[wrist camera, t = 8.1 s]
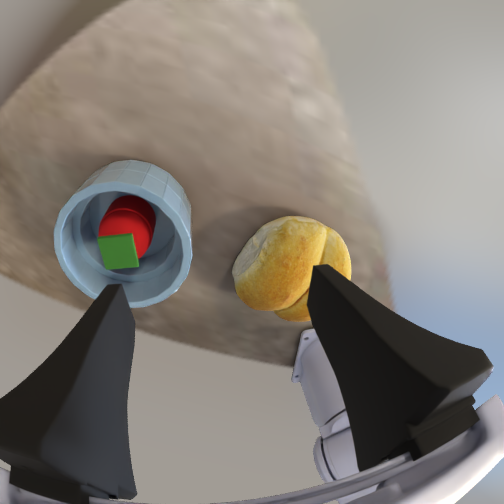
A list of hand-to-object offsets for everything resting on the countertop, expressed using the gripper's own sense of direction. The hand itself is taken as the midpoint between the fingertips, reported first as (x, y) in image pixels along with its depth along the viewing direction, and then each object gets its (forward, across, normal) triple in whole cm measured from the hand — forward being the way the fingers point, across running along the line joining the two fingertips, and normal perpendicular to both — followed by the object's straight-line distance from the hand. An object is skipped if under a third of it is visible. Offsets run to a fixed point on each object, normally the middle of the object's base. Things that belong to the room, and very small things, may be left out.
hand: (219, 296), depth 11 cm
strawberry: (+9, +5, +1) cm, 10 cm away
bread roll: (+10, -6, +6) cm, 13 cm away
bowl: (+9, +5, +1) cm, 11 cm away
